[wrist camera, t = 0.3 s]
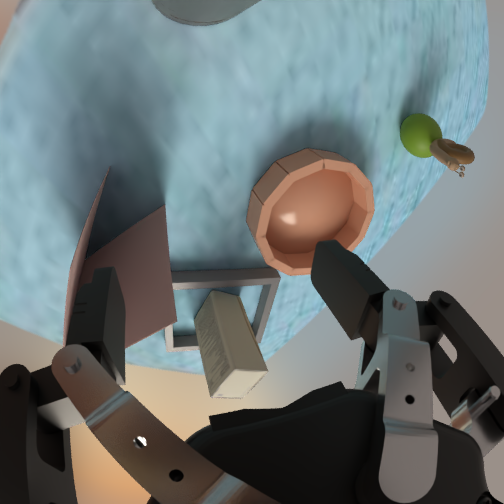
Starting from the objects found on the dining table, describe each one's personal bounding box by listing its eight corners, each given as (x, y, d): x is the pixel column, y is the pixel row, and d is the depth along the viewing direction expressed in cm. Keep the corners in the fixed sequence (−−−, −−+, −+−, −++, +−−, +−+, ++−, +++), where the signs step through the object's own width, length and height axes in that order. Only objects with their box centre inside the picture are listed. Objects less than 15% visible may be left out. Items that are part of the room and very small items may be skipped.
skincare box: (220, 325, 40) (242, 399, 31) (191, 320, 38) (209, 399, 29) (241, 294, 38) (271, 372, 29) (210, 287, 36) (234, 370, 26)
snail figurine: (384, 111, 28) (466, 146, 19) (420, 107, 28) (496, 140, 19) (385, 153, 31) (458, 198, 22) (419, 145, 32) (488, 185, 23)
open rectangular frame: (161, 271, 32) (162, 283, 31) (275, 267, 37) (280, 277, 35) (165, 341, 39) (166, 352, 38) (256, 332, 44) (260, 342, 42)
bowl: (261, 141, 27) (273, 151, 24) (370, 159, 31) (388, 170, 28) (238, 259, 34) (246, 278, 32) (336, 255, 39) (349, 271, 36)
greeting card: (89, 265, 29) (71, 384, 17) (45, 219, 24) (-5, 333, 12) (169, 210, 28) (185, 328, 17) (127, 152, 23) (98, 246, 12)
